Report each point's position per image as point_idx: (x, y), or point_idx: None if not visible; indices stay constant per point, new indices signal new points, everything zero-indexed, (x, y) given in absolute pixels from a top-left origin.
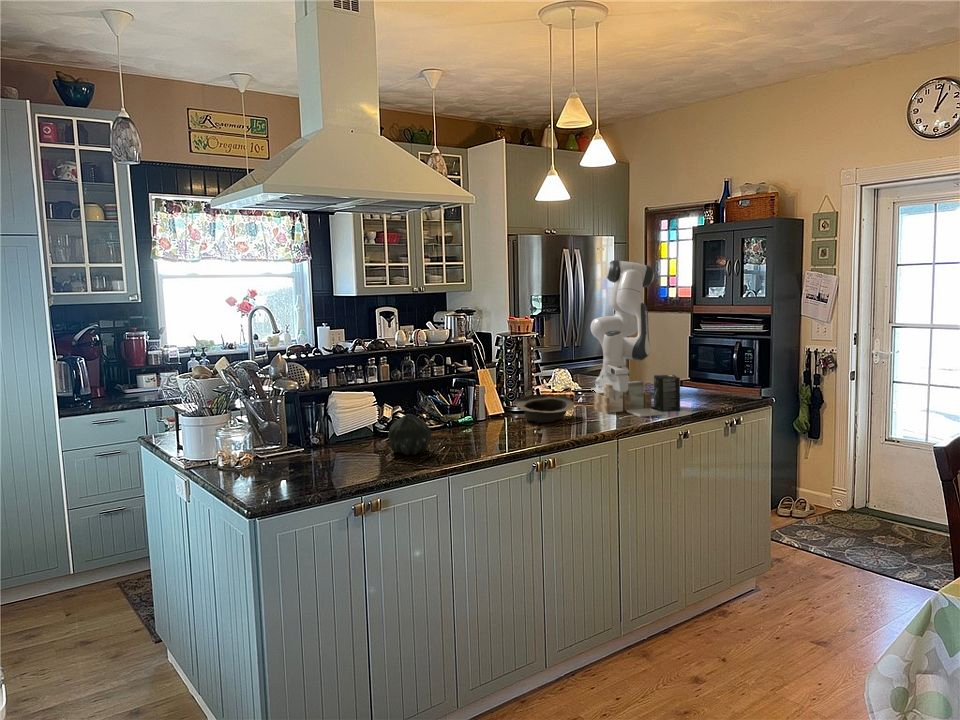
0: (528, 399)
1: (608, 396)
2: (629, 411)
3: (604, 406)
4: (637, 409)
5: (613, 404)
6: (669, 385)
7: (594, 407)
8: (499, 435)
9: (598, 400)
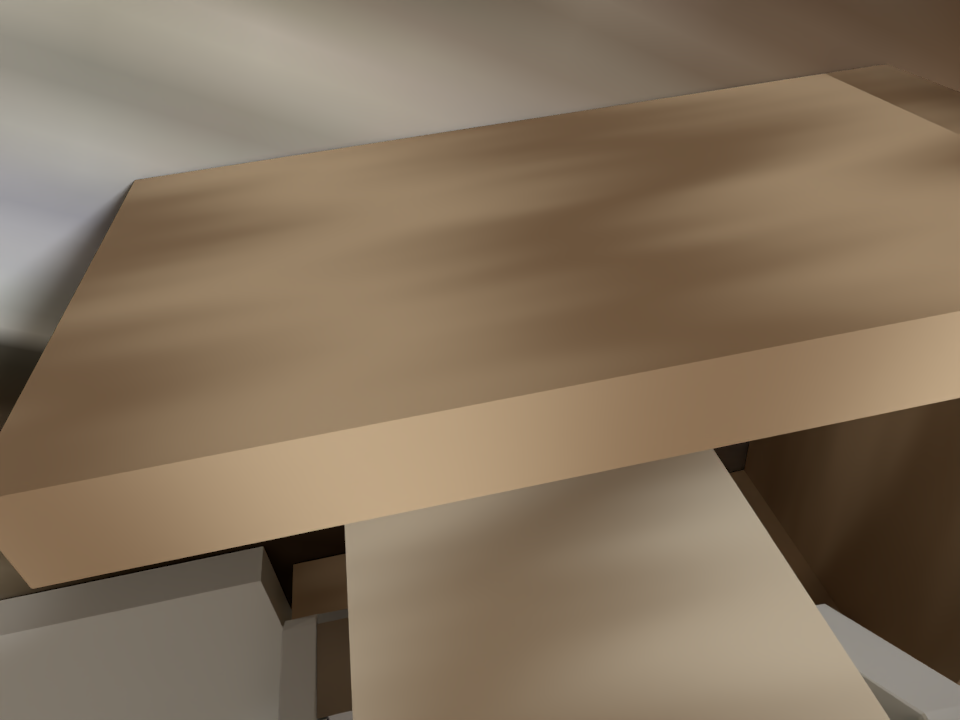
0: None
1: (354, 589)
2: (165, 591)
3: (273, 233)
4: (276, 690)
5: None
6: None
7: (859, 85)
8: None
9: (742, 220)
